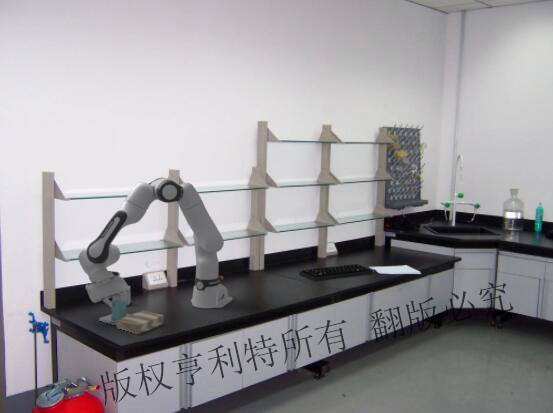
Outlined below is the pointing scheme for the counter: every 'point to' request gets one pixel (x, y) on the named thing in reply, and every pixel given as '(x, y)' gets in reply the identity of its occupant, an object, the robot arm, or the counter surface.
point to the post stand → (110, 319)
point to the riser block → (140, 322)
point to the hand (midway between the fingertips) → (117, 304)
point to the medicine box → (124, 297)
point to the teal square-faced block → (118, 309)
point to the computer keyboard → (335, 272)
